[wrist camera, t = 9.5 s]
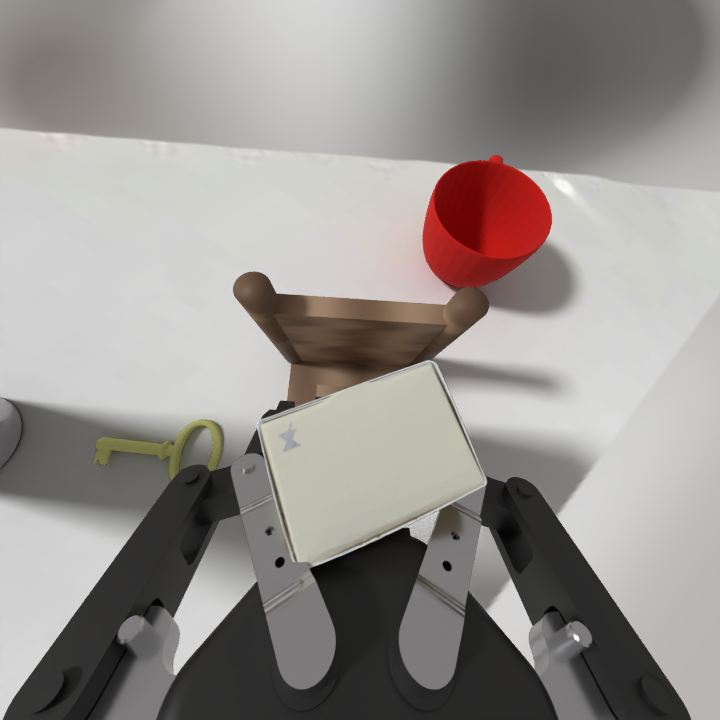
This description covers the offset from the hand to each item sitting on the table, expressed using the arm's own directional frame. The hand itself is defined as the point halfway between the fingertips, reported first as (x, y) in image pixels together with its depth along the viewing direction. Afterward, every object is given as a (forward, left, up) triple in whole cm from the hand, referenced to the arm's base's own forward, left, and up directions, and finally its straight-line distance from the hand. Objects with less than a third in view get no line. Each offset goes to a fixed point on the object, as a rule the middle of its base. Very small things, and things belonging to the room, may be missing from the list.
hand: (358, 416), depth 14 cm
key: (-20, -4, -17) cm, 27 cm away
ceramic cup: (+14, +25, -17) cm, 33 cm away
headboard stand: (0, +1, -16) cm, 17 cm away
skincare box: (0, -2, -6) cm, 6 cm away
